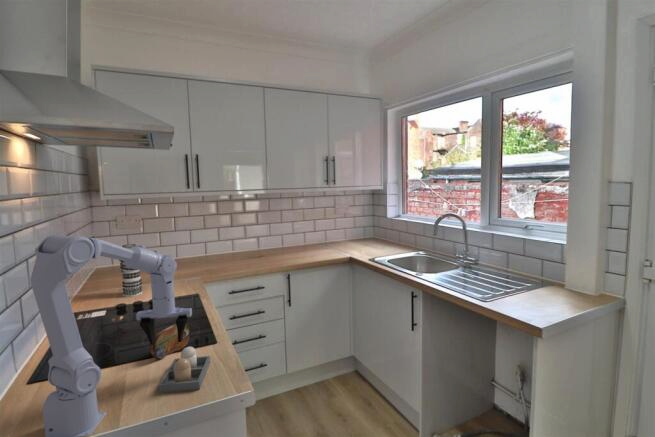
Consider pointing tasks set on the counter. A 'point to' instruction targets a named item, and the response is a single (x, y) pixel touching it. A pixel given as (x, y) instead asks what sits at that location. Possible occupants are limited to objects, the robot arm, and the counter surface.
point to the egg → (190, 356)
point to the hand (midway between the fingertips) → (166, 341)
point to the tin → (169, 341)
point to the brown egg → (182, 370)
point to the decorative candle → (130, 278)
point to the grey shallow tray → (195, 384)
